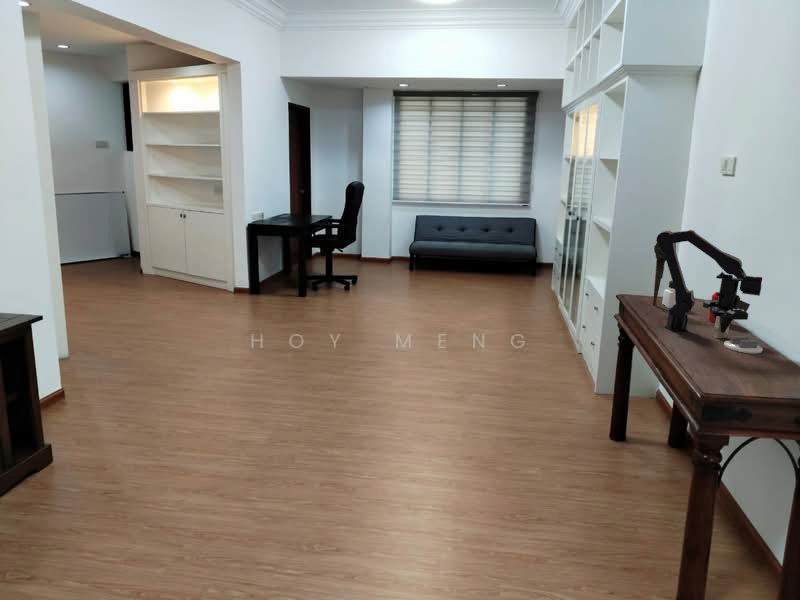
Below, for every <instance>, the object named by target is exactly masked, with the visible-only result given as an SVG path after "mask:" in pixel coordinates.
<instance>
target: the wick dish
mask: <svg viewBox="0 0 800 600" xmlns="http://www.w3.org/2000/svg"><path fill="white" fill-rule="evenodd" d="M758 343H759V341H758V340H752V339H751V340H749V336H746V335H745V336H744V335H740V336H739V335H735V336H733V335H732V336H731V337H730V340H724V342H723V346H724V347H725V348H727V349H729V350H730V351H734V352H737V351H738V352H737V353H742V352H743V353H744V354H762V353H763V347H762V346H760V345H759V344H758Z"/></svg>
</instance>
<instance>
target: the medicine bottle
mask: <svg viewBox="0 0 800 600" xmlns="http://www.w3.org/2000/svg"><path fill="white" fill-rule="evenodd" d="M661 304H662V305H663V304H664V305H665V308H668V309H670V308H671V307H672V306H673V305H675V304H676V301H675V288H674V284H673V281H672V279H671V280H669V283H668V289H667V288H666V289H664V290H663V295H662V303H661ZM664 305H663V306H664Z"/></svg>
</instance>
